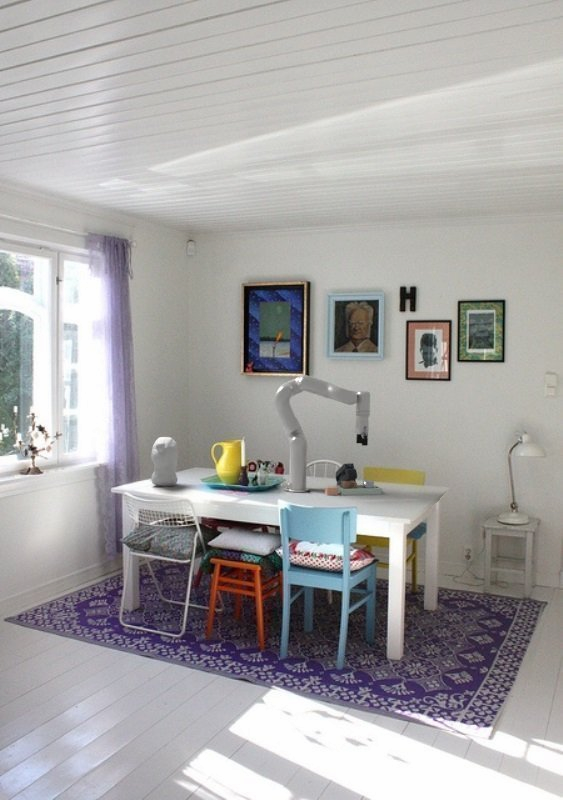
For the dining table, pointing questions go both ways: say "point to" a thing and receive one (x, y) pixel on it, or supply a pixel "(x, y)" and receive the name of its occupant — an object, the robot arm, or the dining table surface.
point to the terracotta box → (331, 490)
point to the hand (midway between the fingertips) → (361, 444)
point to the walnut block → (348, 485)
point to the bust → (164, 462)
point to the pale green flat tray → (359, 490)
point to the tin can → (368, 484)
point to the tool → (346, 473)
